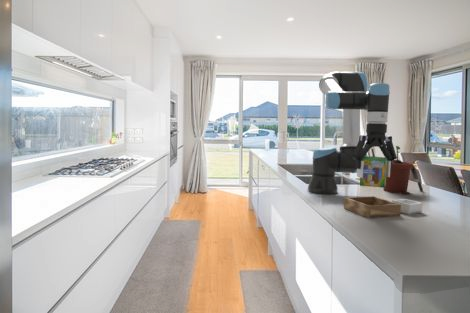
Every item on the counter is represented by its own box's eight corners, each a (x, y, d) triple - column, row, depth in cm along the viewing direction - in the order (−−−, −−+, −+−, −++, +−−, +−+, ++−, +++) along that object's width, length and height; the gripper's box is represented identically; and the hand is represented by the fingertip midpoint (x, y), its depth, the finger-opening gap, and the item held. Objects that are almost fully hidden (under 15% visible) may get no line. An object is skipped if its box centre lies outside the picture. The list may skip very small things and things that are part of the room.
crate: (343, 208, 135) (344, 197, 134) (373, 206, 139) (374, 196, 139) (368, 217, 120) (368, 206, 120) (400, 215, 125) (401, 204, 124)
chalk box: (384, 188, 122) (386, 150, 121) (358, 185, 127) (361, 148, 125) (386, 185, 130) (388, 149, 129) (362, 182, 135) (364, 147, 133)
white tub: (391, 209, 134) (392, 200, 134) (403, 207, 138) (404, 198, 137) (409, 214, 127) (409, 204, 127) (421, 212, 130) (422, 202, 130)
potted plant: (380, 186, 188) (383, 144, 186) (422, 191, 178) (426, 146, 176) (378, 191, 173) (381, 145, 170) (424, 196, 163) (428, 148, 160)
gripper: (356, 122, 119) (353, 178, 121) (409, 124, 126) (405, 177, 128) (344, 122, 126) (341, 175, 128) (394, 124, 133) (391, 174, 135)
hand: (373, 176), depth 128 cm, fingers closed on chalk box, 12 cm apart
